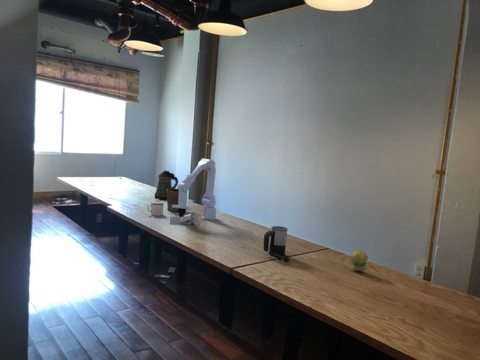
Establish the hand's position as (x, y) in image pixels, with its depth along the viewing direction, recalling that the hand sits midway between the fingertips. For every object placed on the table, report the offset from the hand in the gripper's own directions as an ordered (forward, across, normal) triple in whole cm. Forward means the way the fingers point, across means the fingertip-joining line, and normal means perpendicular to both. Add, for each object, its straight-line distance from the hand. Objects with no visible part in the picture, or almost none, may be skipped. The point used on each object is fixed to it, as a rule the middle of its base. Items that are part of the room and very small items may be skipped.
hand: (181, 219), depth 263 cm
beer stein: (+2, -54, +68) cm, 87 cm away
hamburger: (+2, +120, -36) cm, 125 cm away
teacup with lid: (+2, -26, +7) cm, 26 cm away
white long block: (+1, +2, +3) cm, 3 cm away
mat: (+2, +1, +3) cm, 4 cm away
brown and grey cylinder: (+2, +10, -3) cm, 11 cm away
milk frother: (+2, +79, -36) cm, 87 cm away
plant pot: (+2, -22, +30) cm, 37 cm away
